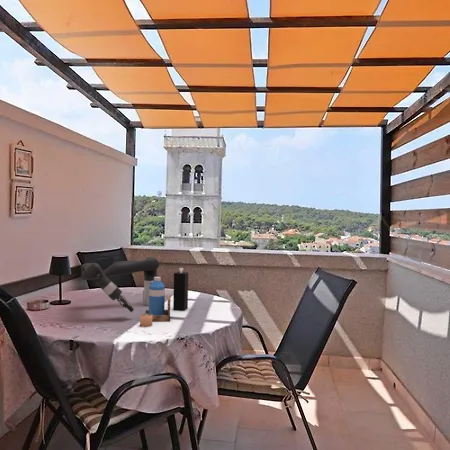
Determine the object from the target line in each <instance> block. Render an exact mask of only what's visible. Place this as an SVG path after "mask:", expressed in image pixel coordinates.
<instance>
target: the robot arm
mask: <svg viewBox="0 0 450 450" xmlns="http://www.w3.org/2000/svg"><path fill="white" fill-rule="evenodd" d="M159 267H160V261H159V260H158V259H157V258H156V257H153V256H148V257H146V258H145V259H143V260H121V261H115V262H113V263H112V264H110V265H109V266H108V267H107V268H105V269H104V270H103V269H102V267H101V266H100V264H99V263H97V262H87V263H83V264H82V265H81V267H80V270H81V277H82V278H81V279H82V280H83V281H92V280H97V281H96V282H95V283H96V285H97V286H98V287H99V288H100V289H101V290H102V291H103V292H104V294H105V295H106V296H108V297H109V298H110V299H111V301H115V300H117V303H118V304H119V305H120V306H121V307H123V308H125V309H127V310H128V311H129V312H130V313H133V311H134V308H133V307H132V306H131V305H130V302H129V301H128V300H127V299H126V297H125V296H124V295H121V294H122V293H123V291H122V290H121V289H120V288H119V287H118V285H116V284H115V283H114V282H113V281H112V280H111V279H110V278H109V277H115V276H124V275H130V274H135V273H137V272H138V273H139V272H143V280H144V281H143V286H144V287H143V290H142V305H144V306H148V307H149V286H150V285H151V284H152V282H153V281H154V277H159V276H158V273H157V270H158V268H159Z"/></svg>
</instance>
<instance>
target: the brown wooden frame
mask: <svg viewBox="0 0 450 450" xmlns="http://www.w3.org/2000/svg"><path fill="white" fill-rule="evenodd" d="M166 297H167V309H164V315H152V323H154V322H155V323H156V322H157V323H158V322H171V302H172V300H171V299H172V298H171V295H170V294H168V295H167V296H166ZM145 313H148V314H149V309H145Z"/></svg>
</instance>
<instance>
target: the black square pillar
mask: <svg viewBox="0 0 450 450" xmlns="http://www.w3.org/2000/svg"><path fill="white" fill-rule="evenodd" d="M178 269H179V271H175V272H174V273H173V298H172V299H173V300H172V304H173V305H172V309H173V311H180V312H181V311H186V310H187V309H188V308H189V306H188V305H189V303H188V302H189V271H184V267H179V268H178Z"/></svg>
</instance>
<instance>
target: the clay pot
mask: <svg viewBox="0 0 450 450" xmlns="http://www.w3.org/2000/svg"><path fill="white" fill-rule="evenodd" d="M142 326H144V328H149V327H152V326H153V322H152V314H148V313H146V312H145V313H141V314H139V327H142ZM148 326H149V327H148Z"/></svg>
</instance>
